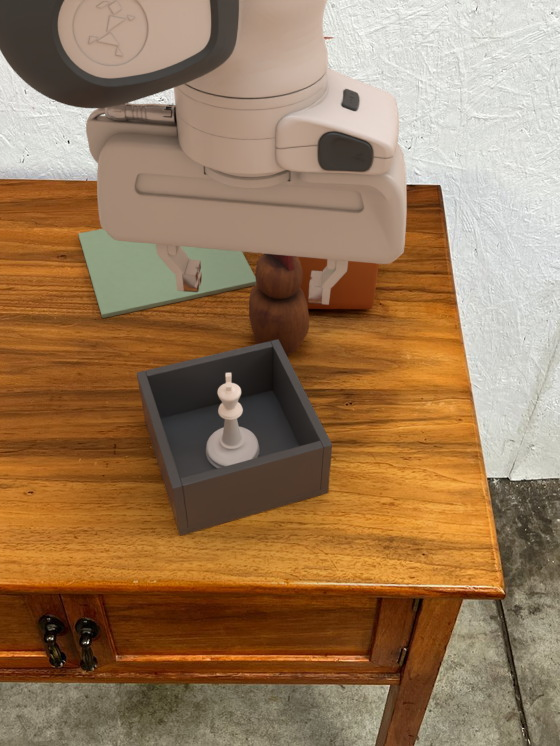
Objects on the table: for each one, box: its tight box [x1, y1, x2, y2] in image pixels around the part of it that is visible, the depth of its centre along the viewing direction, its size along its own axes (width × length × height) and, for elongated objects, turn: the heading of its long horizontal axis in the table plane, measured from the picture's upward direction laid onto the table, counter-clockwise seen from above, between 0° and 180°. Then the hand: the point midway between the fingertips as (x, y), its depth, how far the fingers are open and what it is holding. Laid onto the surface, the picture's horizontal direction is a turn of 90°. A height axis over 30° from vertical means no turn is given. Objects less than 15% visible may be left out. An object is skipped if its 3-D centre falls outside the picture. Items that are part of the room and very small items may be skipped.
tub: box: [136, 339, 333, 537], centre depth 70 cm, size 14×14×7 cm
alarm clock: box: [296, 256, 380, 310], centre depth 90 cm, size 24×8×11 cm, turn 0°
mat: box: [77, 228, 256, 319], centre depth 92 cm, size 18×16×1 cm
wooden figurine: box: [248, 253, 310, 356], centre depth 77 cm, size 7×6×15 cm
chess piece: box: [206, 373, 259, 468], centre depth 68 cm, size 5×5×10 cm
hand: (254, 292), depth 56 cm, fingers open, 8 cm apart
